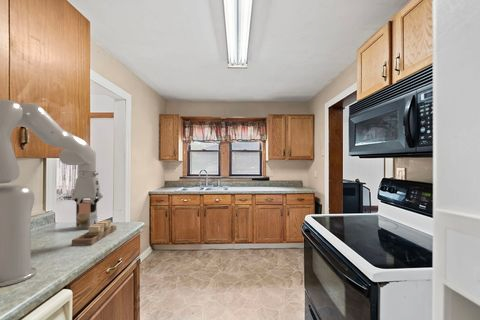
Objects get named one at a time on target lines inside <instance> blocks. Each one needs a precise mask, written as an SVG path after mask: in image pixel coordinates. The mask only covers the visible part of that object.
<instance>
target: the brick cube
mask: <svg viewBox="0 0 480 320" xmlns="http://www.w3.org/2000/svg"><path fill="white" fill-rule="evenodd" d="M91 204H92V203H91V202H82V203H79V214H90V213H91ZM92 213H93V212H92Z"/></svg>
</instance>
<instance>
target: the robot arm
mask: <svg viewBox="0 0 480 320" xmlns="http://www.w3.org/2000/svg"><path fill="white" fill-rule="evenodd" d="M16 127H18V128H19V127H20V128H21V127H22V128H23V127H25V128H27V129H28V130H29V131H31V133H32V134H34V136H36V137H37V138H38V139H39V141H41V142H42V143H44V144H46V145H48V146H52V147H54V148H60V149H63V150H62V151H61V152H59V155H58V158H59V161H60V162H61V164H64V165H66V166H77V177H76V179H75V182H74V183H75V184H74V193H73V194H72V195H71V197H70V198H71V199H72V200H73V201H74V202H75V203H77V204H78V211H79V203H82V202H83V200H85V199H89V200H91V203H92V204H91V213H92V212H95V211H96V203H97V204H98V202H99V201H101V200H102V199H103V197H104V196H103V194H102V193H101V189H100V188H101V187H100V181H99V178H98V177H97V176H98V175H99V172H98V171H97V154H96V151H95V150H94V149H93V148H92V147H91V146H90V145H89V144H88V142H87V141H86V140H84V139H83V138H80V137H79V136H76V134H73V133H71V132H69V131H66V130H65V129H64V128H63V127H61V126H60V124H59V123H57V122H56V121H55V120H54V119H53V117H52V116H51V115H50V114H49V113H48V112H47V111H46V110H45V109H44V107H42V106H40V105H38V104H36V103H18V102H17V101H14V100H11V99H0V287H5V286H9V285H10V286H11V285H14V284H17V283H20V282H24V281H26V280H28V279H30V278H32V277H33V276H35V275H36V274H37V270H38V269H37V267H35V266H31V265H32V262H31V259H32V258H31V257H32V256H31V254H32V253H31V251H32V249H31V247H32V246H31V245H32V241H31V240H32V239H31V238H32V236H31V233H32V232H31V230H32V228H31V227H32V226H31V224H32V223H31V222H32V219H31V218H32V211H33V208H34V205H35V204H34V203H35V194H34V192H33V190H32V189H30V188H29V187H27V186H25V185H19V184H18V185H17V184H9V183H12V182H15V181H16V180H17V179H18V178H19V176H20V166H19V163H18V160H17V158H16V155H15V154H16V153H15V151H14V148H13V143H12V142H11V136H12V132H13V130H14V129H15V128H16Z"/></svg>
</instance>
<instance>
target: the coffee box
mask: <svg viewBox="0 0 480 320" xmlns="http://www.w3.org/2000/svg"><path fill="white" fill-rule="evenodd" d="M83 202H91V199H87V200H86V199H84V200H83ZM75 203H76V202H75ZM75 209H76V212H75V213H76V214H75V220H76V222H75V224H76V226H75V229H77V230H89V226H92V225H94V224H97V223H98V202H97V203H96V211H95V212H93V213H90V214H79V211H78V204H77V203H76V206H75Z"/></svg>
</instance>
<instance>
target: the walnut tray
mask: <svg viewBox="0 0 480 320" xmlns="http://www.w3.org/2000/svg"><path fill="white" fill-rule="evenodd" d="M116 230H117V225H112V220H111V219H110V220H100V221H97V224H94V225H92V226H89V229H88V231H87V232H85V233H83V234H82V235H79V236H78V237H75V238H73V239H72V240H71V246H92V245H94V244H96V243H98V242H99V241H100V240H101V241H102V239H104V238H106V237H107V236H109V235H111V234H113V233H114V232H115V231H116Z"/></svg>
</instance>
